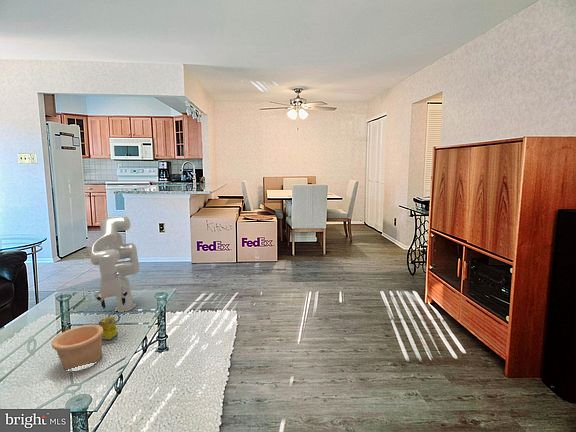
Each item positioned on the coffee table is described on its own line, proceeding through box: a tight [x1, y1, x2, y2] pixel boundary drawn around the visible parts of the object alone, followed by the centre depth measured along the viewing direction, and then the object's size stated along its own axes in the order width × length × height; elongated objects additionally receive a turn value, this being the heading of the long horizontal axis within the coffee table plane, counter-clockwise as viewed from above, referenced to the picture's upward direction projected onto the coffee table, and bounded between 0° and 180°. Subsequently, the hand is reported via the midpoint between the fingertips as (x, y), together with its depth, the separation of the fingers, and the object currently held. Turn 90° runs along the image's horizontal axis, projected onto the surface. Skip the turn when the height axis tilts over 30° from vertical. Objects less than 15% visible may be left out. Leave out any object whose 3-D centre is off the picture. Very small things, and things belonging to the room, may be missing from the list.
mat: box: [101, 331, 119, 346], centre depth 196 cm, size 12×20×1 cm, turn 111°
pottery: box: [51, 323, 104, 371], centre depth 176 cm, size 22×22×14 cm
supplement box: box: [98, 316, 118, 341], centre depth 198 cm, size 6×6×11 cm
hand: (114, 305), depth 197 cm, fingers open, 9 cm apart
